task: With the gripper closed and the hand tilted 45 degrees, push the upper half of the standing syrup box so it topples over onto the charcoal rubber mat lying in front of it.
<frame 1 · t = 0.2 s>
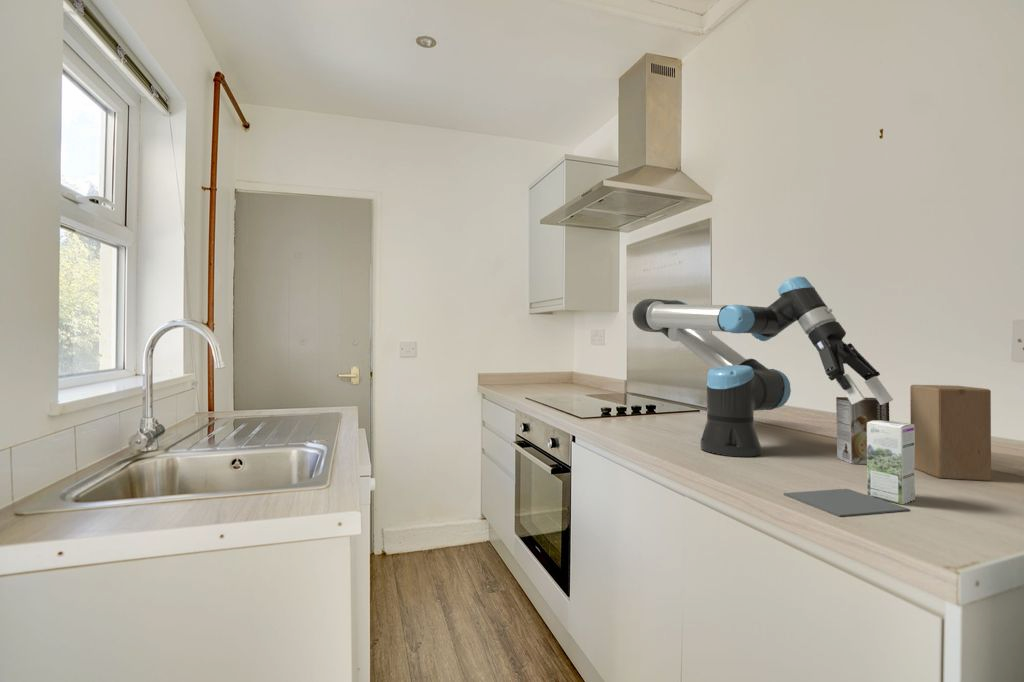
hand: (873, 402, 109), 16 cm above the counter, tool tilted 35°, fingers open, 13 cm apart
syrup box: (890, 499, 88), on the counter
mat: (843, 502, 86), on the counter
wooden block: (948, 474, 106), on the counter
coffee box: (862, 462, 117), on the counter
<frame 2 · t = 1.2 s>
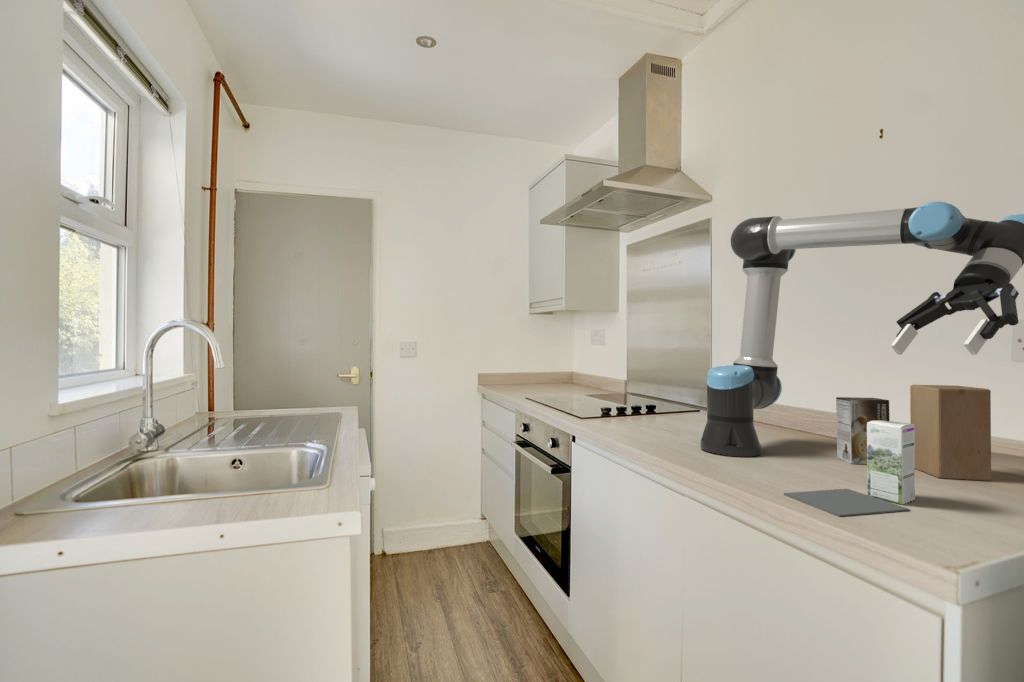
hand: (930, 350, 91), 28 cm above the counter, tool tilted 45°, fingers open, 12 cm apart
nothing on the counter moved.
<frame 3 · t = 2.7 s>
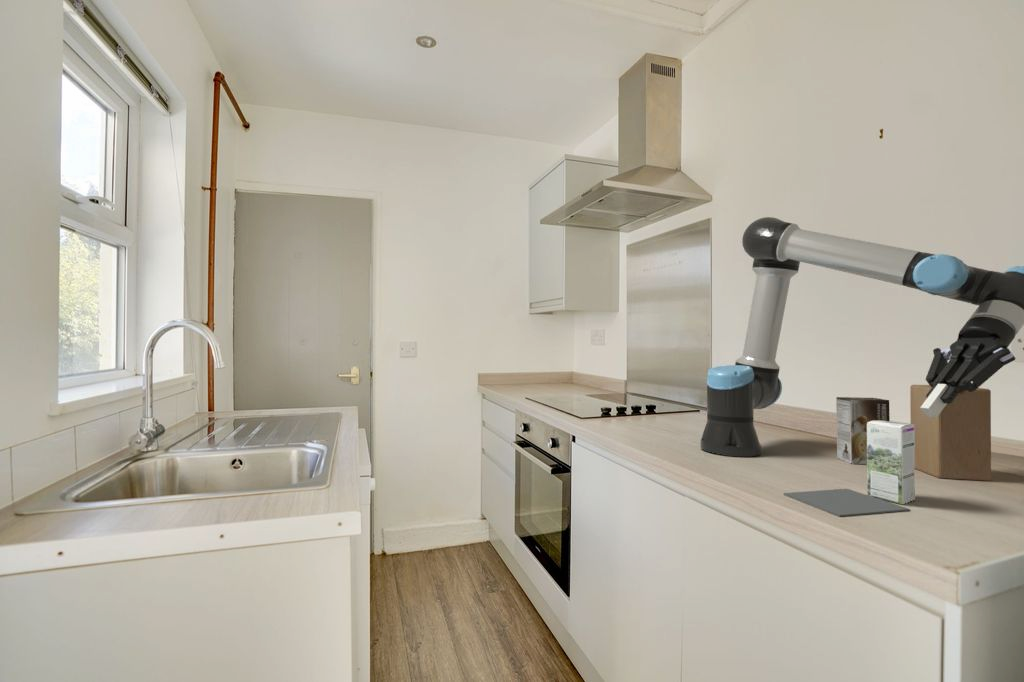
hand: (928, 412, 90), 16 cm above the counter, tool tilted 45°, fingers closed
nothing on the counter moved.
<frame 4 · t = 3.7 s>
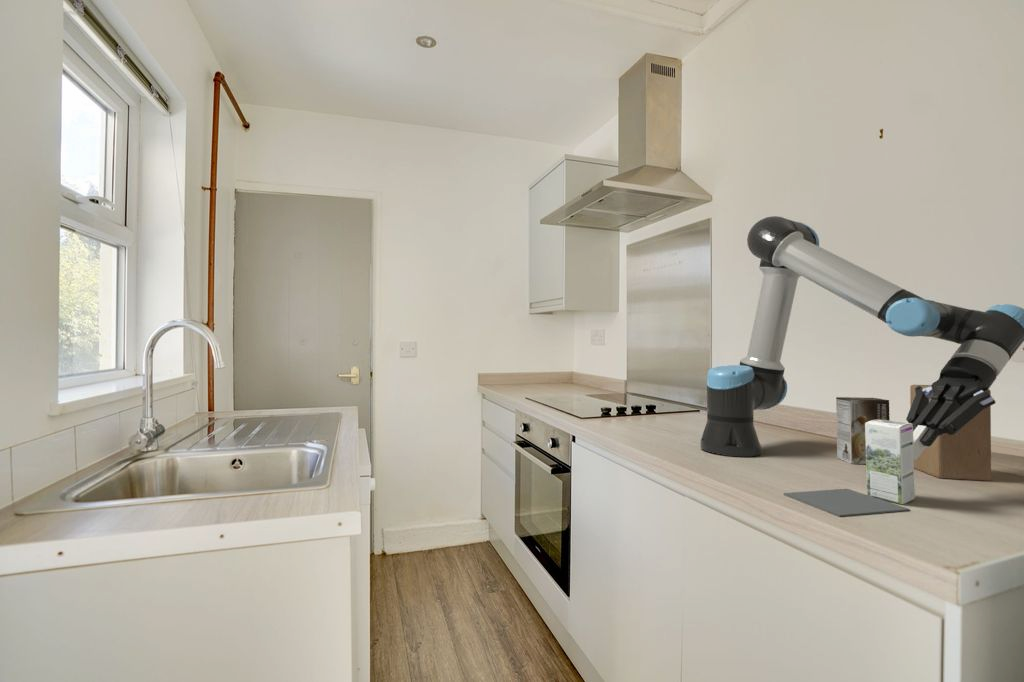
hand: (907, 455, 89), 8 cm above the counter, tool tilted 45°, fingers closed
syrup box: (890, 498, 88), on the counter, touching gripper
everything else where it was.
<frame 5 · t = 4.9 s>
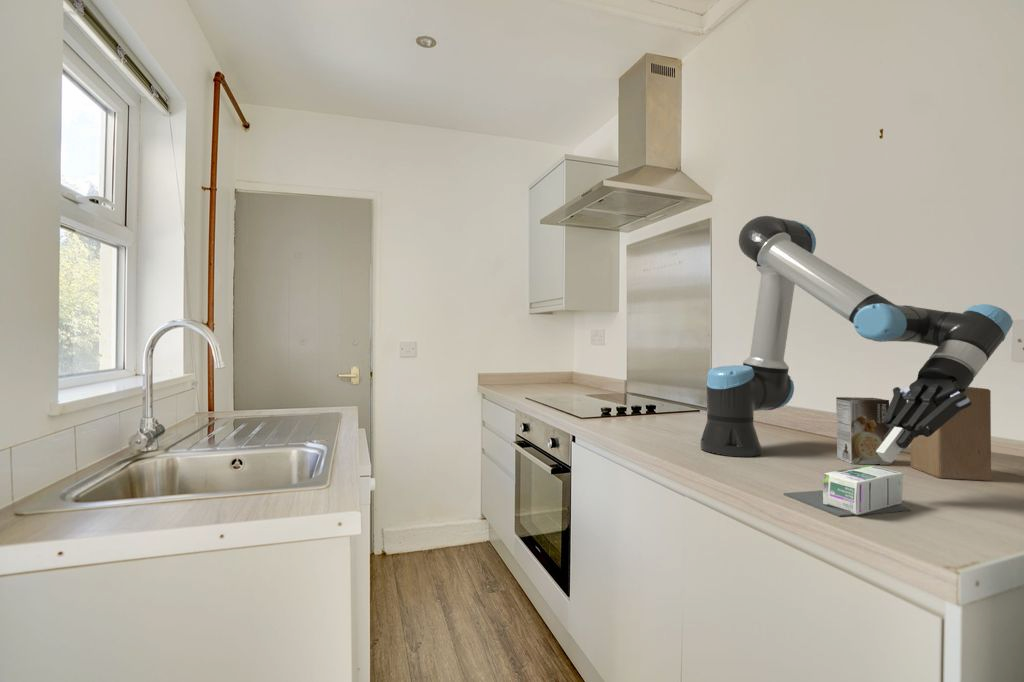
hand: (883, 457, 88), 8 cm above the counter, tool tilted 45°, fingers closed
syrup box: (886, 483, 87), point 3 cm above the counter, touching mat
everything else where it was.
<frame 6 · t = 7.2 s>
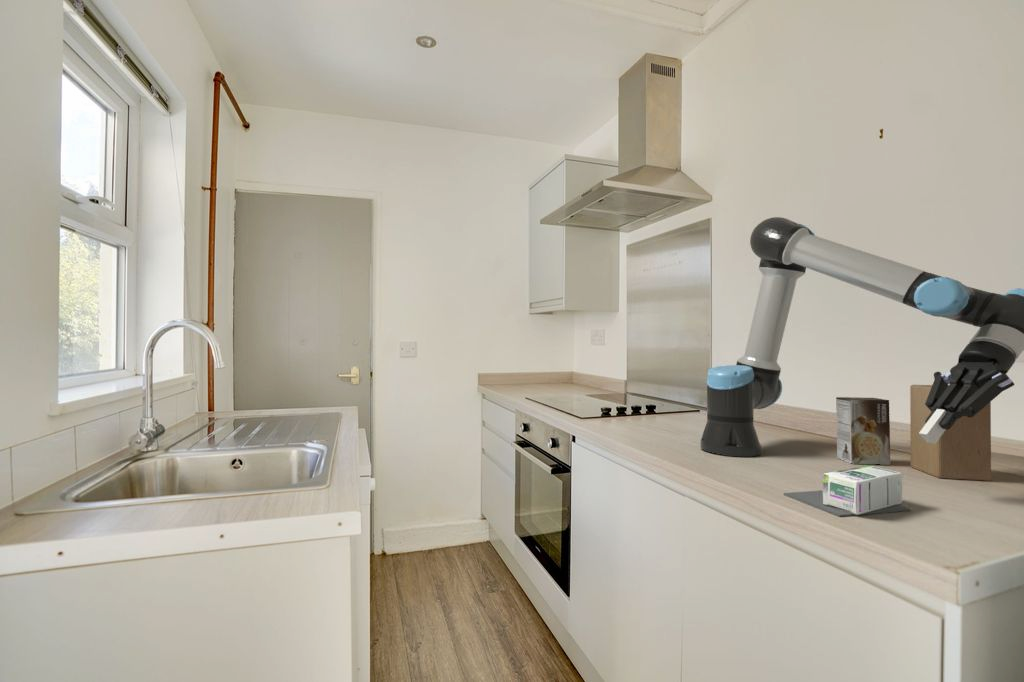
hand: (927, 438, 90), 11 cm above the counter, tool tilted 45°, fingers closed
nothing on the counter moved.
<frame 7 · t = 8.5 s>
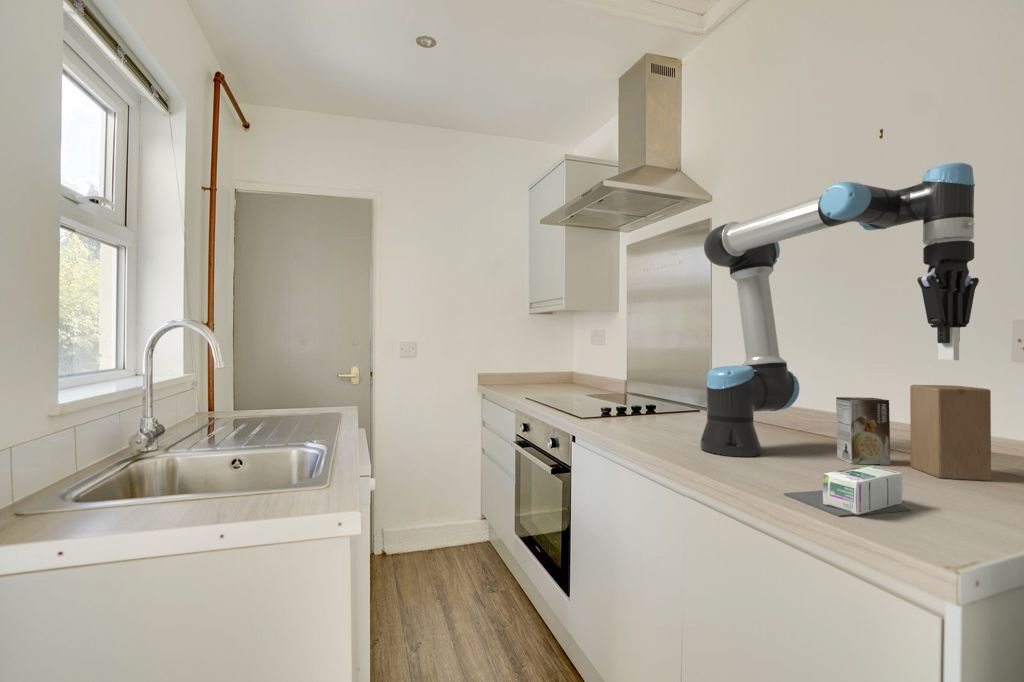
hand: (948, 359, 93), 26 cm above the counter, tool pointing down, fingers closed
nothing on the counter moved.
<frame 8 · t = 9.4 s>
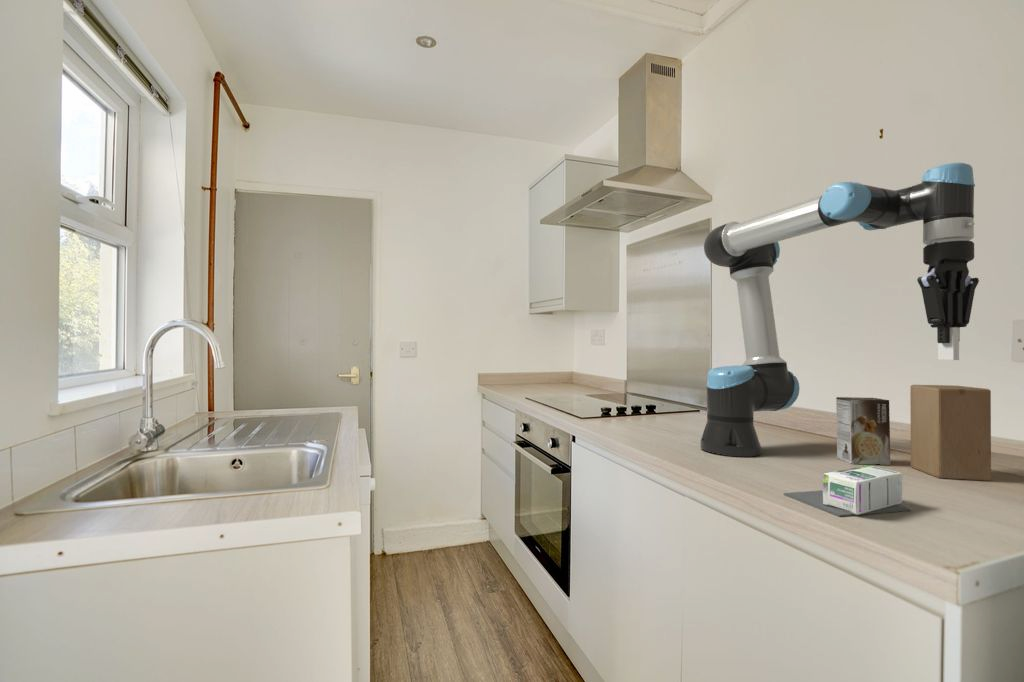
hand: (948, 359, 93), 26 cm above the counter, tool pointing down, fingers closed
nothing on the counter moved.
at the end: syrup box tilted 89°; syrup box 8.9 cm from the mat (horizontally); syrup box touching mat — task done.
